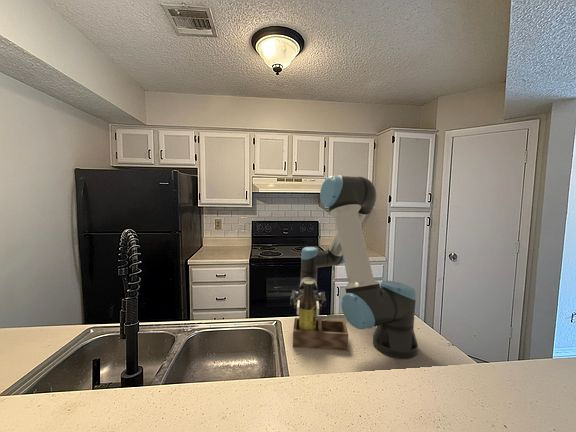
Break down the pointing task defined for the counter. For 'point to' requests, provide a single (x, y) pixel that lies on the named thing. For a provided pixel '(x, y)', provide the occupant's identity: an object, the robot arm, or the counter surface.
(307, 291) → the sauce bottle
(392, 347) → the robot arm
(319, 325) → the wooden divided box
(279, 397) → the counter surface
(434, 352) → the counter surface
